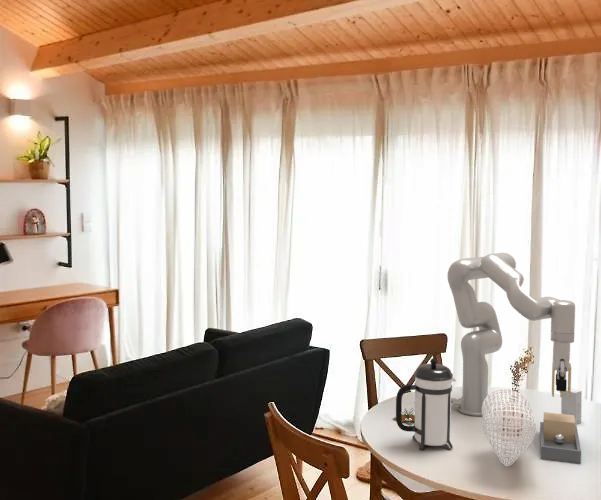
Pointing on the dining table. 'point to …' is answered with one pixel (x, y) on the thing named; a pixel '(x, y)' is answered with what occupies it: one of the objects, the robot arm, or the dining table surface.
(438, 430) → the coffee press
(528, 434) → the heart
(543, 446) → the shaker tray
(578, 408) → the skincare box
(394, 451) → the dining table surface
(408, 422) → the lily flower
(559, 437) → the ball
